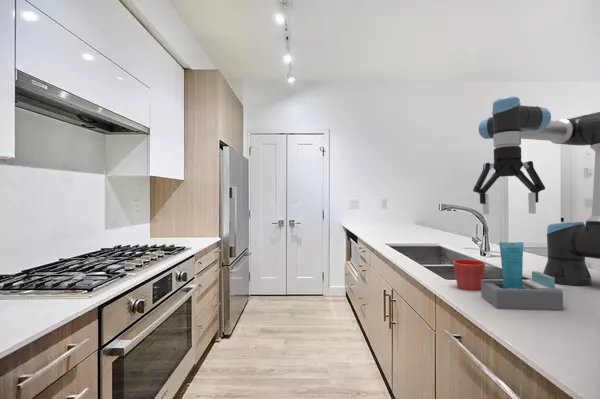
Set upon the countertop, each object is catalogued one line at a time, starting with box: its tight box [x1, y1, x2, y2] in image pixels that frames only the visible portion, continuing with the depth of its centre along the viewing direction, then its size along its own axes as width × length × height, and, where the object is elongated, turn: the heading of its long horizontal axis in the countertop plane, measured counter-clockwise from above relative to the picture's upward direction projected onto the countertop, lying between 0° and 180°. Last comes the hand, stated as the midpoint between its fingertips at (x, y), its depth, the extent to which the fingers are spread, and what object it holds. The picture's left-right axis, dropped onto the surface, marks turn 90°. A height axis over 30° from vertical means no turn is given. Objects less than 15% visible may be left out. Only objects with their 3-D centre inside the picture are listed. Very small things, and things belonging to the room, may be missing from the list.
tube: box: [499, 241, 524, 289], centre depth 109 cm, size 7×5×19 cm, turn 95°
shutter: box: [522, 270, 567, 292], centre depth 107 cm, size 7×10×4 cm
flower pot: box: [452, 259, 486, 291], centre depth 128 cm, size 11×11×10 cm
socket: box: [480, 279, 564, 311], centre depth 108 cm, size 18×13×6 cm
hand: (508, 213), depth 109 cm, fingers open, 13 cm apart
